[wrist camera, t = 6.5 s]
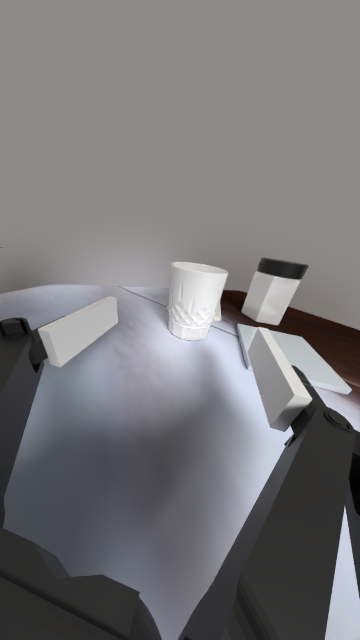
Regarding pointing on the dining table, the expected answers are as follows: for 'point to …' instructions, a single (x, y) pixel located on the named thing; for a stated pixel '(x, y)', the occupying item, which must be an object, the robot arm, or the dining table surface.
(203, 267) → the white cup
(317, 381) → the light grey square tile
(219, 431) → the dining table surface
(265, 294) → the jar
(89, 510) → the dining table surface
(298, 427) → the robot arm
